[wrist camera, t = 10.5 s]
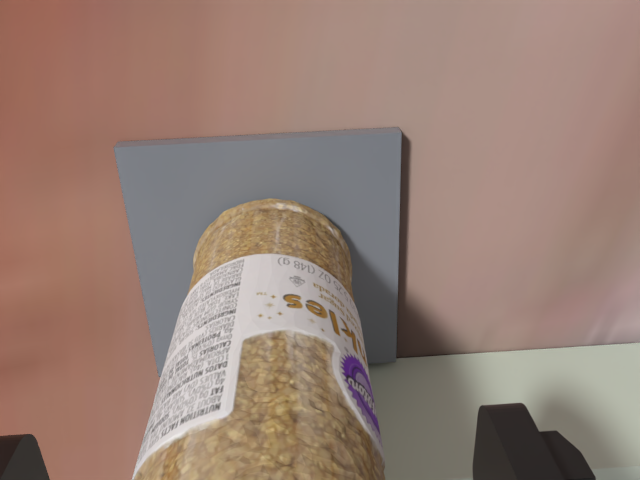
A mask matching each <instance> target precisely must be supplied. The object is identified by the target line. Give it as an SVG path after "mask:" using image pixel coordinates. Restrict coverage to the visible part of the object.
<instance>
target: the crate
mask: <svg viewBox="0 0 640 480" xmlns="http://www.w3.org/2000/svg"><path fill="white" fill-rule="evenodd" d="M368 370H369V376H370V381H371V387H372V392H373V397H374V402H375V408H376V413H377V419H378V424H379V429H380V435H381V440H382V446H383V451H384V457H385V468H384V475H385V480H473V471H472V467H473V456H474V446H475V437H476V427H477V417H478V411H479V408H480V406H481V405H494V404H509V403H523V404H524V405H525V406H526V407H527V409H528V411H529V413H530V415H531V417H532V418H533V420H534V422H535V424H536V426H537V428H538V430H539V432H540V431H555V430H557V431H558V432H559V433H560V434H561V435H562V436H563V437H565V438H566V439H567V440H568V441H569V442H570V443H571V444H573V445H574V446H575V447H576V448H577V449H578V450H579V451H581V453H582V455H583V456H584V458H585V460H586V461H587V463H588V465H589V467H590V468H591V470H592V472H593V474H594V475H595V477H596V480H640V343H629V344H613V345H597V346H582V347H566V348H551V349H535V350H519V351H504V352H488V353H473V354H457V355H441V356H426V357H410V358H396V362H388V363H373V364H368Z"/></svg>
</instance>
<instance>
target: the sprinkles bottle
mask: <svg viewBox="0 0 640 480" xmlns="http://www.w3.org/2000/svg"><path fill="white" fill-rule="evenodd" d="M193 269H194V272H193V276H192V279H191V283H190V288H189V291H188V294H187V297H186V299H185V301H184V303H183V305H182V307H181V310H180V313H179V316H178V319H177V323H176V326H175V330H174V333H173V337H172V340H171V344H170V347H169V350H168V354H167V357H166V361H165V364H164V367H163V371H162V375H161V378H160V382H159V385H158V389H157V392H156V396H155V400H154V404H153V407H152V411H151V414H150V418H149V421H148V425H147V428H146V432H145V435H144V439H143V442H142V446H141V449H140V453H139V456H138V460H137V463H136V467H135V470H134V474H133V478H132V480H385V475H384V468H385V457H384V451H383V446H382V440H381V435H380V429H379V424H378V419H377V413H376V408H375V402H374V397H373V392H372V387H371V381H370V376H369V370H368V364H367V358H366V352H365V346H364V340H363V334H362V328H361V322H360V318H359V315H358V311H357V308H356V306H355V304H354V297H353V293H352V286H351V281H352V263H351V258H350V252H349V248H348V246H347V244H346V242H345V240H344V239H343V237H342V235H341V232H340V230H339V229H338V228H337V227H335V226H334V225H333V224H332V223H331V222H330V221H329V220H328V218H327V217H325V216H324V215H323V214H321V213H319V212H317V211H315V210H313V209H311V208H310V207H308V206H305V205H302V204H300V203H298V202H295V201H292V200H280V199H272V198H269V199H263V200H255V201H251V202H247V203H244V204H240V205H238V206H236V207H233V208H230V209H228V210H226V211H224V212H223V213H222V214H221V215H220V216H219V217H218V218H217V219H216V220H215V221H214V222H212V223H211V224H210V225H209V226H208V227H207V229H206V230H205V232H204V233H203V235H202V236H201V238H200V239H199V241H198V244H197V247H196V250H195V253H194V257H193Z"/></svg>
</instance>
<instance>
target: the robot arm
mask: <svg viewBox="0 0 640 480" xmlns="http://www.w3.org/2000/svg"><path fill="white" fill-rule="evenodd" d="M472 471H473V480H596V477H595V475H594V474H593V472H592V470H591V468H590V467H589V465H588V463H587V461H586V460H585V458H584V456H583V455H582V453H581V451H579V450H578V449H577V448H576V447H575V446H574V445H573V444H571V443H570V442H569V441H568V440H567V439H566V438H565V437H563V436H562V435H561V434H560V433H559V432H558V431H557V430H555V431H540V432H539V430H538V428H537V426H536V424H535V422H534V420H533V418H532V417H531V415H530V413H529V411H528V409H527V407H526V406H525V405H524V404H523V403H509V404H494V405H481V406H480V408H479V411H478V417H477V427H476V437H475V446H474V456H473V467H472ZM0 480H50V479H49V476H48V473H47V470H46V467H45V464H44V461H43V458H42V455H41V452H40V449H39V446H38V443H37V440H36V438H35V437H34V436H33V435H31V434H23V435H8V436H0Z"/></svg>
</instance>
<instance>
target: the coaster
mask: <svg viewBox="0 0 640 480" xmlns="http://www.w3.org/2000/svg"><path fill="white" fill-rule="evenodd" d="M401 136H402V132H401V131H400V129H399V127H392V128H373V129H354V130H335V131H315V132H296V133H277V134H258V135H238V136H219V137H200V138H181V139H161V140H142V141H123V142H118V143H117V144H116V145H115V146H114V152H115V158H116V163H117V168H118V173H119V178H120V183H121V188H122V193H123V198H124V203H125V208H126V213H127V218H128V223H129V228H130V233H131V238H132V244H133V249H134V254H135V259H136V264H137V269H138V274H139V279H140V284H141V289H142V294H143V299H144V304H145V309H146V314H147V319H148V324H149V330H150V335H151V340H152V345H153V350H154V355H155V360H156V365H157V370H158V375H159V377H161V375H162V371H163V367H164V364H165V361H166V357H167V354H168V350H169V347H170V344H171V340H172V337H173V333H174V330H175V326H176V323H177V319H178V316H179V313H180V310H181V307H182V305H183V303H184V301H185V299H186V297H187V294H188V291H189V288H190V283H191V279H192V276H193V272H194V269H193V257H194V253H195V250H196V247H197V244H198V241H199V239H200V238H201V236H202V235H203V233H204V232H205V230H206V229H207V227H208V226H209V225H210V224H211V223H212V222H214V221H215V220H216V219H217V218H218V217H219V216H220V215H221V214H222V213H223V212H224V211H226V210H228V209H230V208H233V207H236V206H238V205H240V204H244V203H247V202H251V201H255V200H263V199H269V198H272V199H280V200H292V201H295V202H298V203H300V204H302V205H305V206H308V207H310V208H311V209H313V210H315V211H317V212H319V213H321V214H323V215H324V216H325V217H327V218H328V220H329V221H330V222H331V223H332V224H333V225H334V226H335V227H337V228H338V229H339V230H340V232H341V235H342V237H343V239H344V240H345V242H346V244H347V246H348V248H349V252H350V258H351V263H352V281H351V286H352V293H353V297H354V304H355V306H356V308H357V311H358V315H359V318H360V322H361V328H362V334H363V340H364V346H365V352H366V358H367V364H373V363H388V362H396V348H397V305H398V263H399V221H400V178H401Z"/></svg>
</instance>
